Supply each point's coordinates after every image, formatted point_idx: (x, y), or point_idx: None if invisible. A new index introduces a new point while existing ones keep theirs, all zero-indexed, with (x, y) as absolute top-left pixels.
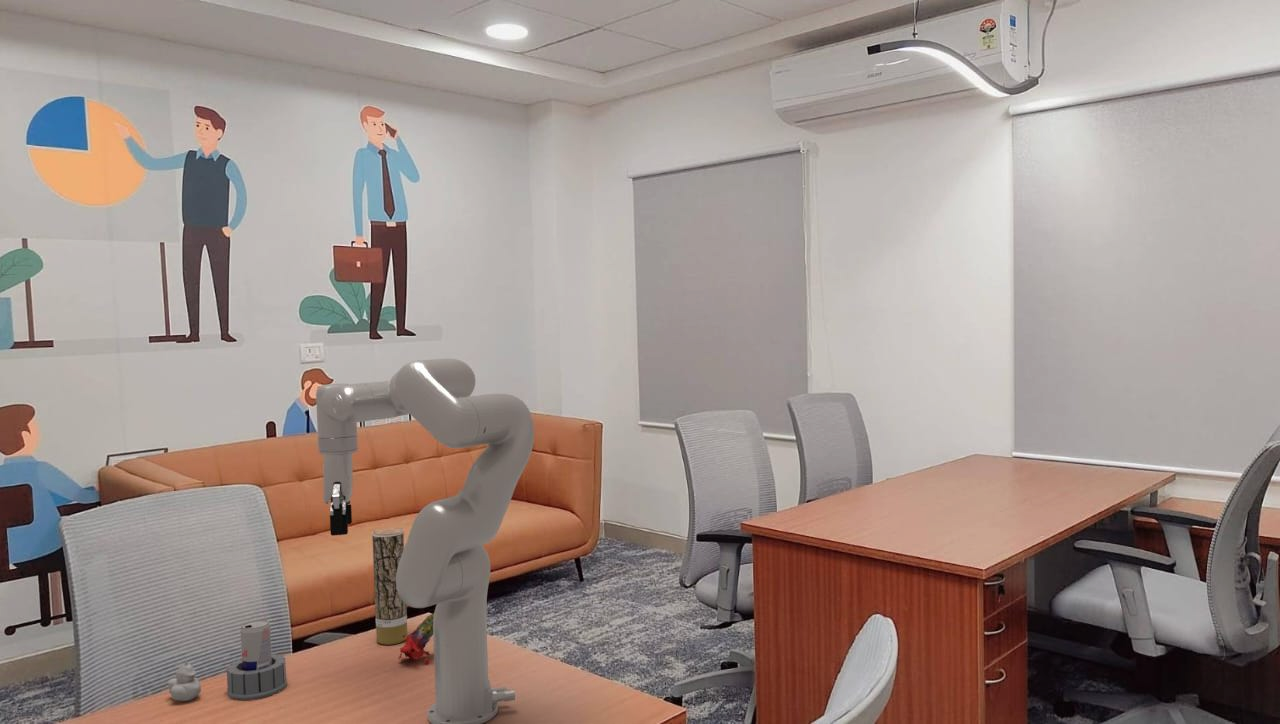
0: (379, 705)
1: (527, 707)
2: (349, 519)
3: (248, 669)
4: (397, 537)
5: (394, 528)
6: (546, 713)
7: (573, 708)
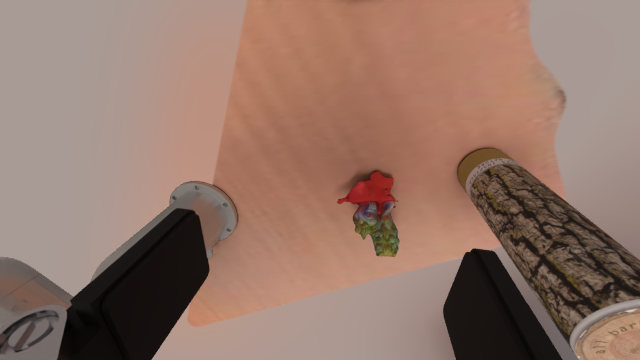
0: (243, 137)
1: None
2: (450, 328)
3: None
4: (566, 341)
5: None
6: None
7: None
